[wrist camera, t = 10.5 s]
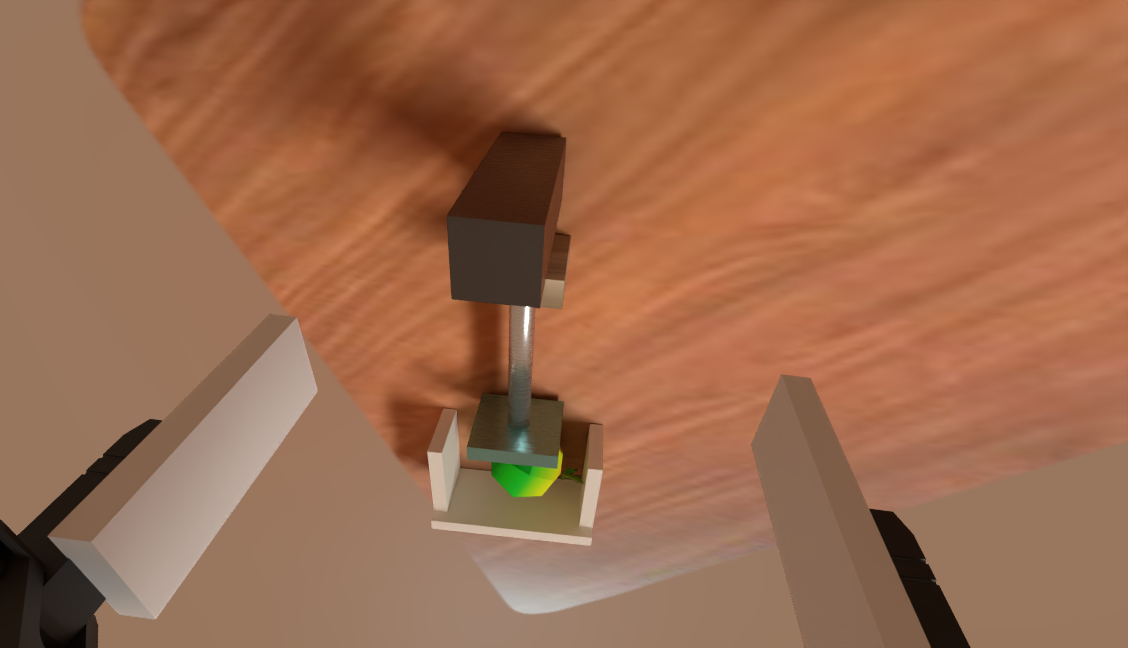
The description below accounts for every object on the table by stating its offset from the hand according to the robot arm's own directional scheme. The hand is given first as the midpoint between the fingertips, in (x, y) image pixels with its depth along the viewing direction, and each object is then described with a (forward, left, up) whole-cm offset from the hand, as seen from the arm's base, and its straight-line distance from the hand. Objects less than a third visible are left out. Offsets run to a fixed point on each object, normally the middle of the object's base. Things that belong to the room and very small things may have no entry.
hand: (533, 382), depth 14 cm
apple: (+26, -1, -22) cm, 34 cm away
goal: (+28, -3, -22) cm, 36 cm away
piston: (+11, -3, -21) cm, 24 cm away
